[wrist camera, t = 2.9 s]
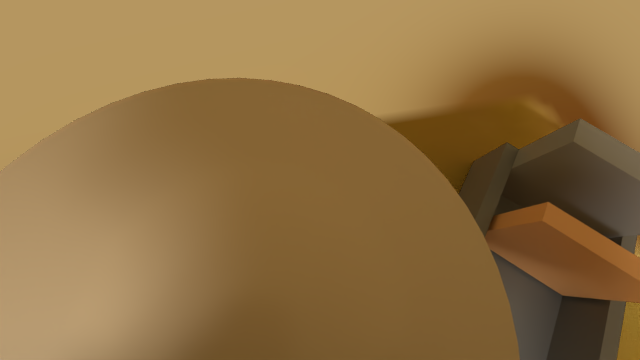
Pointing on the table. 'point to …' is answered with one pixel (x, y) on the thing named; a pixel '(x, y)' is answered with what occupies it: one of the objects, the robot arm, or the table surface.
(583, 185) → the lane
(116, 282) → the jar
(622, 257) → the plate
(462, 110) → the table surface
